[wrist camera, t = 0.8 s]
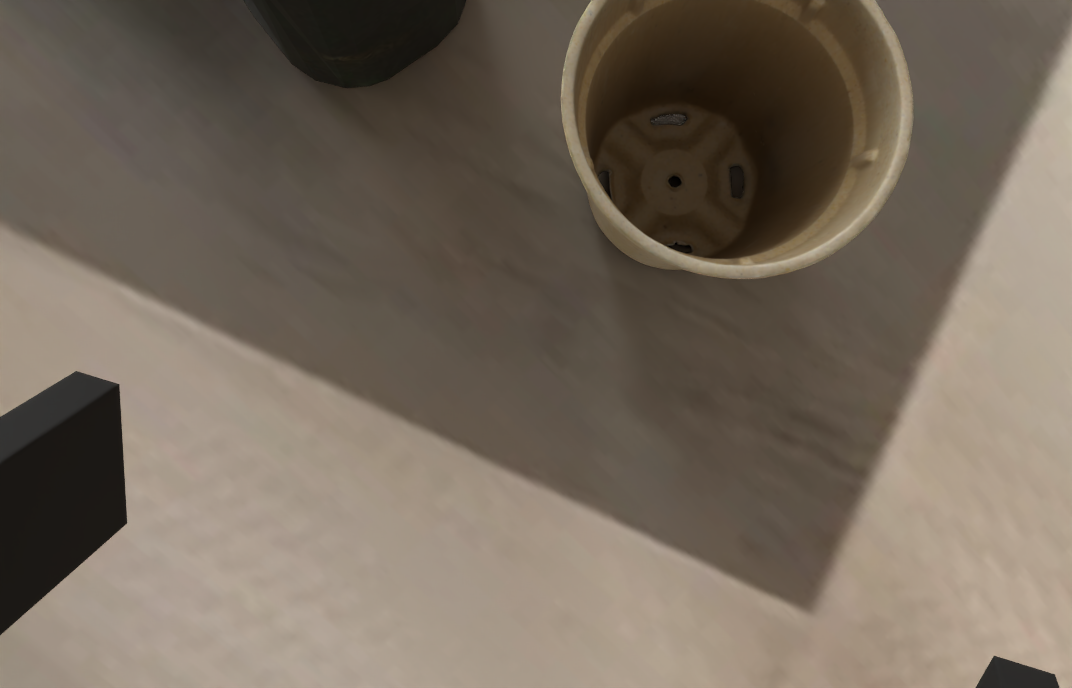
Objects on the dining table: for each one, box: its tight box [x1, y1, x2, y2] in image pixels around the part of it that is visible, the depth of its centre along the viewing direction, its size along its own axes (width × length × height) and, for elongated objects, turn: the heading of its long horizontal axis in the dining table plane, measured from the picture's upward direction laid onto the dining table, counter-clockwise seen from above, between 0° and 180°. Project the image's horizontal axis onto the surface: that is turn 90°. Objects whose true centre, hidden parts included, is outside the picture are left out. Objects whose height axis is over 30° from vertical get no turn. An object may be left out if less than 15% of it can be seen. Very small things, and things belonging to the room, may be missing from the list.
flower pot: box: [561, 0, 913, 279], centre depth 27 cm, size 9×9×9 cm
